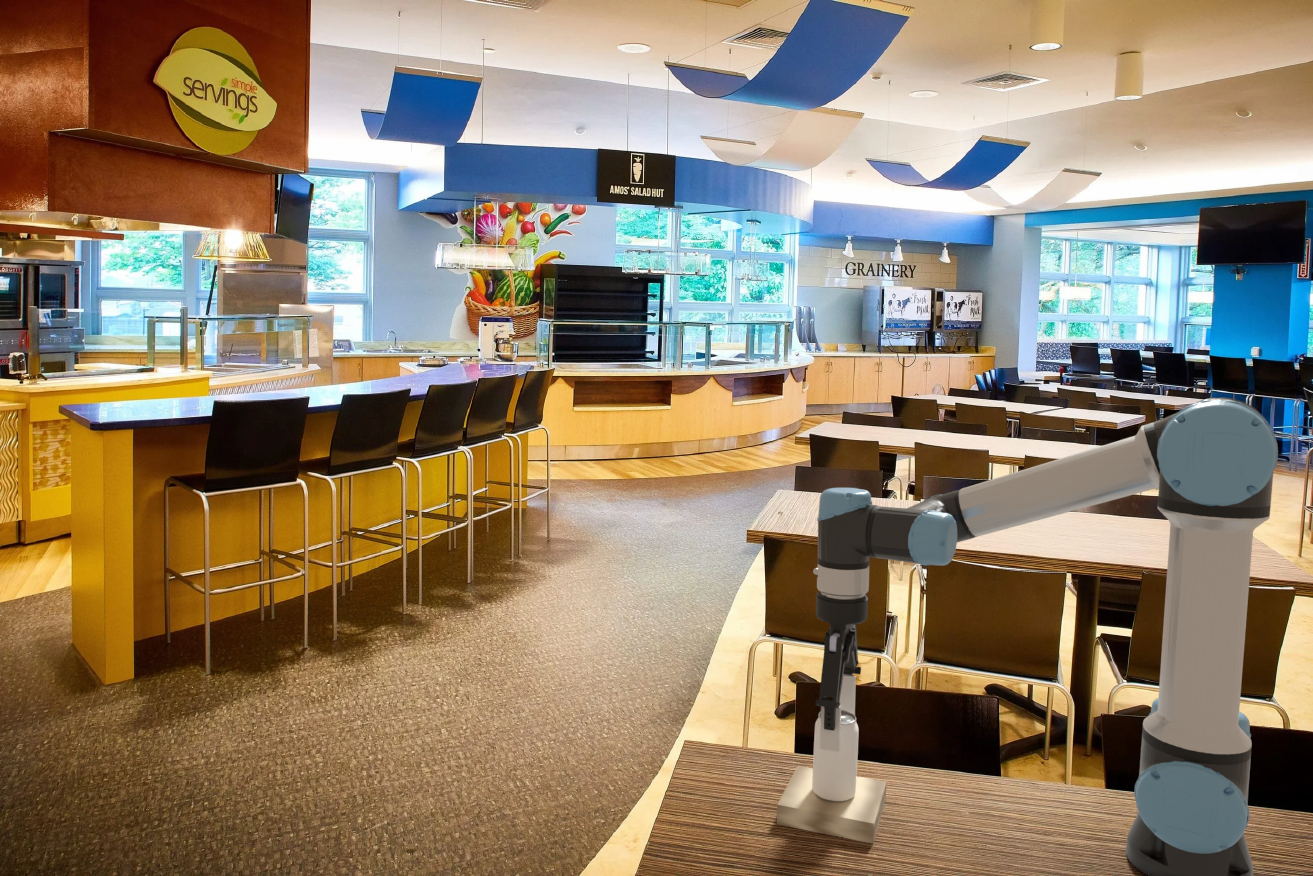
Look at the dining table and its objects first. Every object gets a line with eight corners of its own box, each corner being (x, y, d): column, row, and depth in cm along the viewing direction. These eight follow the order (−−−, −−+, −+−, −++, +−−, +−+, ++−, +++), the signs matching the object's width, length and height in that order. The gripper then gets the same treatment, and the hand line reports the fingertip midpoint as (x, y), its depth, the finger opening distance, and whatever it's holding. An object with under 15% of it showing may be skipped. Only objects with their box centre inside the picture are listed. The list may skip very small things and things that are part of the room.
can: (859, 804, 138) (863, 725, 137) (815, 802, 139) (818, 724, 137) (851, 784, 145) (855, 708, 144) (809, 782, 145) (812, 707, 144)
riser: (885, 800, 146) (886, 781, 146) (873, 843, 133) (874, 823, 133) (796, 783, 151) (797, 765, 151) (776, 824, 138) (777, 804, 138)
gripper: (831, 572, 152) (828, 699, 154) (799, 611, 129) (795, 761, 130) (879, 576, 149) (874, 706, 151) (854, 617, 126) (849, 770, 128)
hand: (838, 732), depth 141 cm, fingers open, 13 cm apart
